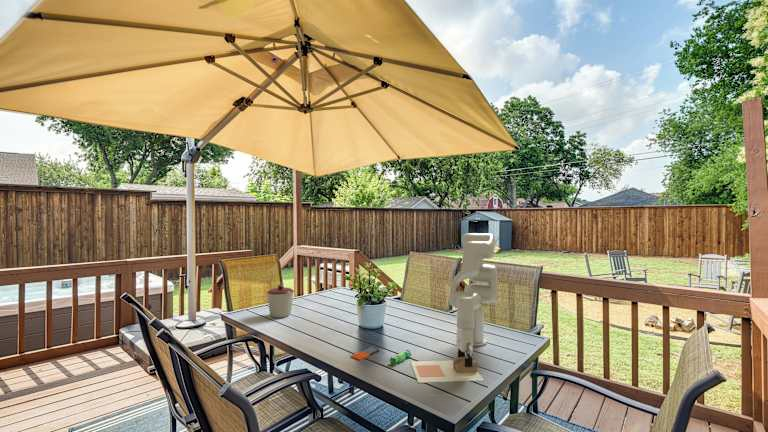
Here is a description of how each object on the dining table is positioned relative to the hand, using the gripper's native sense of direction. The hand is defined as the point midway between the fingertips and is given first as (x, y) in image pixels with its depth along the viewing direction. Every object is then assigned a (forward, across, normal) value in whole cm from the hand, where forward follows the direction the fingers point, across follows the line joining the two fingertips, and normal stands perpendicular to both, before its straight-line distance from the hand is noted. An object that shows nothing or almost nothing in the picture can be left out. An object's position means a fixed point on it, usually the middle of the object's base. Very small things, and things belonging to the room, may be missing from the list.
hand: (464, 362), depth 156 cm
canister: (+3, -89, -99) cm, 133 cm away
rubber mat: (+4, -1, -9) cm, 10 cm away
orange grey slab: (+5, -22, -44) cm, 49 cm away
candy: (+4, -13, -27) cm, 30 cm away
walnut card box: (+4, -1, 0) cm, 4 cm away
